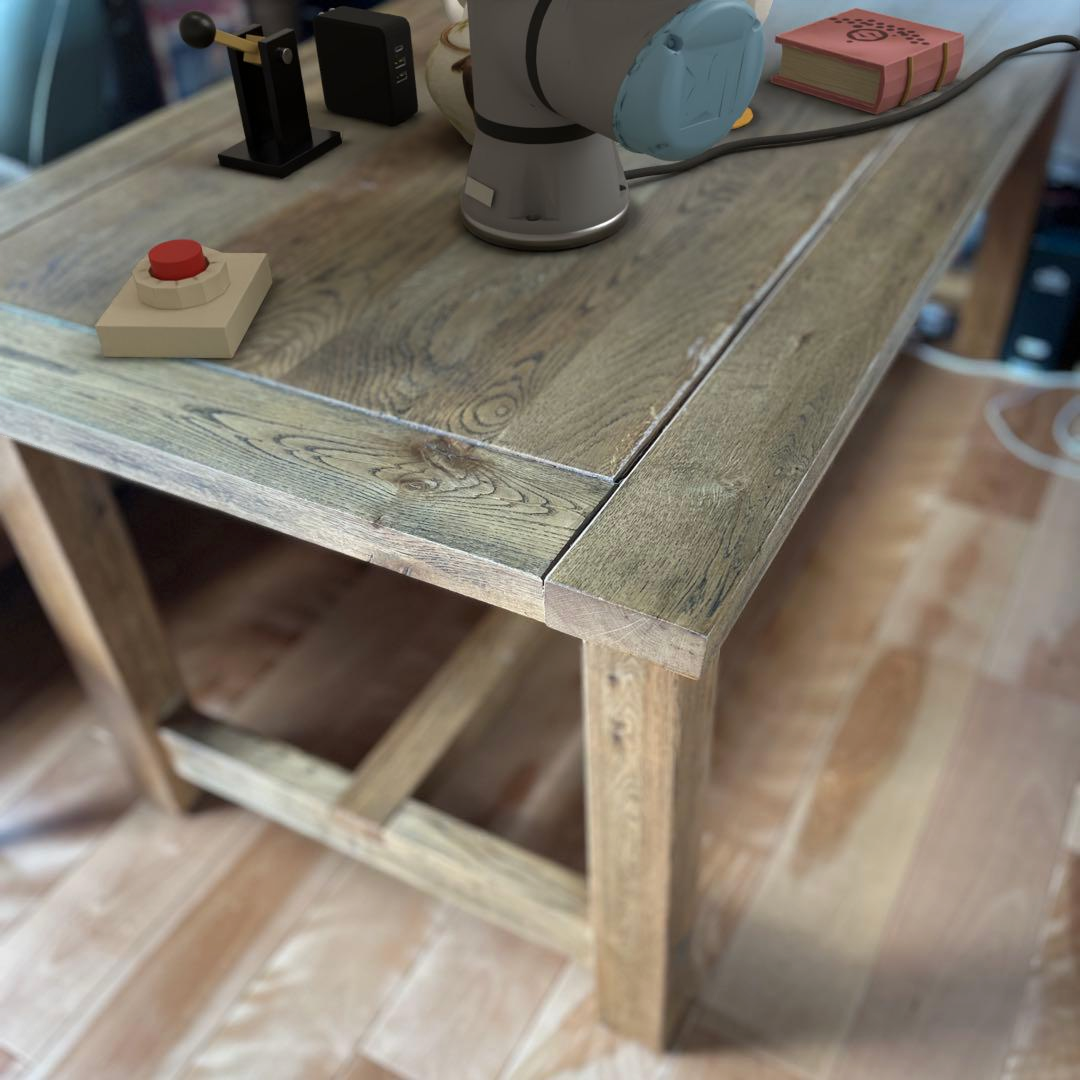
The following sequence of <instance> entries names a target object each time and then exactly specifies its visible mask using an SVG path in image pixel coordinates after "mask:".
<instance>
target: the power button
mask: <svg viewBox="0 0 1080 1080" xmlns="http://www.w3.org/2000/svg"><path fill="white" fill-rule="evenodd" d="M202 247H203V246H202V245H201V244H200V242H198V241H196V240H194V239H188V238H178V239H177V238H176V239H170V240H166V241H163V242H160V243H158V244H156V245H155V246H153V247H152V248H150V249H149V251H148V252H147V254H148V257H149V261H150V264H151V268H152V271H153V275H154V277H155V278H156V279H158V280H161V281H178V280H183V279H187V278H191V277H194V276H196V275H198V274H200V273H202V272H204V271H205V270H206V263H205V259H204V255H203V251H202Z"/></svg>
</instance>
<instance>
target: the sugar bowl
mask: <svg viewBox="0 0 1080 1080" xmlns="http://www.w3.org/2000/svg"><path fill="white" fill-rule="evenodd" d="M424 78H425V84H426V88H427V91H428V94H429V96H430V98H431V99H432V100H433V102H434V104H435V105H436V107H437V108H438V109H439V111H440V112H441V113H442V114H443V115H444V117H445V118H446V119H447V120H448V121H449V122H450V123H451V124H452V125H453V127H454V128H455V129H456V130H457V131H458V132H459V134H460V135H461V136H462V138H463V139H464V140H465V141H466V142H467V143H468V144H469V145H470V146H473V143H474V139H475V135H476V122H475V107H474V93H473V79H472V65H471V51H470V37H469V24H468V18H467V19H465V20H463V21H461V22H458V23H455V24H453V25H451V24H450V25H449V26H448V27H446V28H445V29H444V30H443V31H442V32H441V34H440V37H439V38H438V39H437V40H436V42H435V43H434V44H433V46H432V48H431V49H430V51H429V54H428V56H427V58H426V62H425V67H424Z"/></svg>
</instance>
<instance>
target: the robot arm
mask: <svg viewBox="0 0 1080 1080" xmlns="http://www.w3.org/2000/svg"><path fill="white" fill-rule="evenodd" d="M466 2H467V10H468V24H469V37H470V51H471V65H472V79H473V93H474V107H475V122H476V135H475V139H474V143H473V145H472V148H471V151H470V156H469V160H468V165H467V168H466V175H465V179H464V183H463V185H462V189H461V194H460V212H461V220H462V224H463V225H464V227H465V228H466V229H467V231H469V232H470V233H471V234H473V235H474V236H475V237H477V238H479V239H481V240H483V241H486V242H487V243H491V244H494V245H497V246H500V247H504V248H511V249H517V250H526V251H554V250H555V251H556V250H565V249H571V248H577V247H582V246H585V245H589V244H592V243H596V242H598V241H601V240H604V239H606V238H608V237H609V236H611V235H613V234H614V233H616V232H618V231H619V230H620V229H621V228H622V227H623V226H624V225H625V224H626V223H627V221H628V219H629V216H630V207H631V206H630V203H631V201H630V199H631V197H630V195H631V194H630V189H629V185H628V181H629V180H635V179H641V178H646V177H653V176H661V175H669V174H674V173H678V172H682V171H685V170H688V169H691V168H693V167H696V166H698V165H700V164H702V163H704V162H707V161H709V160H710V159H713V158H714V157H715V158H716V157H717V156H720V155H723V154H726V153H729V152H733V151H738V150H743V149H748V148H752V147H754V148H755V147H761V146H771V145H782V144H783V145H784V144H791V143H800V142H806V141H812V140H819V139H824V138H825V139H826V138H831V137H837V136H842V135H849V134H855V133H860V132H863V131H868V130H872V129H877V128H881V127H884V126H888V125H891V124H894V123H898V122H901V121H905V120H907V119H910V118H912V117H916V116H918V115H921V114H923V113H926V112H928V111H930V110H932V109H935V108H937V107H939V106H941V105H942V104H944V103H946V102H948V101H950V100H951V99H953V98H954V97H956V96H958V95H960V94H961V93H962V92H964V91H966V90H968V89H969V88H970V87H971V86H973V85H974V84H975V83H977V82H978V81H979V80H980V79H981V78H983V77H984V76H985V75H987V74H989V73H990V72H991V71H992V70H994V69H995V68H996V67H997V66H998V65H999V64H1000V63H1001V62H1003V61H1004V60H1006V59H1008V58H1010V57H1013V56H1016V55H1020V54H1023V53H1026V52H1029V51H1032V50H1034V49H1035V50H1036V49H1037V48H1041V47H1044V46H1047V45H1052V44H1068V45H1071V46H1072V47H1074V48H1075V49H1076V50H1077V51H1079V52H1080V39H1079V38H1078V37H1076V36H1074V35H1070V34H1056V35H1050V36H1046V37H1045V36H1044V37H1042V38H1039V39H1036V40H1033V41H1029V42H1027V43H1024V44H1021V45H1018V46H1014V47H1011V48H1008V49H1005V50H1003V51H1001V52H999V53H998V54H996V56H994V57H993V58H991V60H990V61H989V62H988V63H986V64H985V65H983V66H982V67H981V68H979V69H978V70H976V71H975V72H974V73H972V74H971V75H969V76H968V77H967V78H965V80H963V81H962V82H960V83H958V84H957V85H955V86H953V87H951V88H950V89H948V90H947V91H945V92H943V93H942V94H940V95H937V96H936V97H934V98H933V99H930V100H928V101H926V102H924V103H921V104H918V105H916V106H913V107H911V108H908V109H905V110H902V111H899V112H895V113H893V114H889V115H885V116H882V117H878V118H873V119H869V120H865V121H860V122H856V123H852V124H846V125H840V126H835V127H829V128H822V129H815V130H808V131H802V132H794V133H787V134H776V135H765V136H757V137H750V138H743V139H739V140H734V141H730V142H726V143H722V144H719V145H717V144H718V143H720V141H721V142H722V140H723V139H724V138H725V137H726V136H728V134H729V133H730V132H731V131H732V129H731V128H732V127H733V125H734V123H735V122H736V121H737V120H738V119H739V118H741V117H742V115H743V114H744V112H745V110H746V109H747V107H748V108H749V105H750V103H751V101H752V99H753V98H754V95H755V93H756V90H757V88H758V85H759V83H760V80H761V76H762V73H763V68H764V63H765V58H766V57H765V56H766V35H765V34H766V33H765V30H764V26H763V25H764V24H763V25H762V23H761V21H760V20H759V19H757V18H756V13H755V10H754V9H753V8H752V7H751V6H749V4H748V3H747V2H745V1H744V0H466ZM616 143H618V144H619V145H620V146H621V147H622V148H623V149H625V150H627V151H628V152H631V153H634V154H640V155H647V156H649V157H652V158H655V159H658V160H661V161H665V162H673V163H668V164H662V165H661V164H660V165H652V166H645V167H639V168H634V169H628V170H624V168H623V164H622V160H621V158H620V154H619V151H618V149H617V145H616Z"/></svg>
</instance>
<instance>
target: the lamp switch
mask: <svg viewBox="0 0 1080 1080" xmlns="http://www.w3.org/2000/svg"><path fill="white" fill-rule="evenodd" d="M230 34H231V35H234V36H237V37H239V38H242V39H245V40H246V35H253V36H260V37H265V35H264V30H263V25H262V24H260V23H252V24H250V25H247V26H245V27H243V28H241V29H238V30H236V31H234V32H231V33H230ZM297 43H298V42H297V37H296V30H295V29H294V28H284V29H282V30H279V31H278V32H275V33H273V34H270V35H268V36H266V37H265V38H264V39H262V40H260V41H258V47H259V53H260V58H261V63H262V67H260V66H257V65H254V64H251V63H248V62H245V61H243V59H244V52H242V51H239V50H236V49H233V48H230V47H227V46H225V47H226V51H227V56H228V60H229V65H230V71H231V75H232V79H233V81H232V82H233V84H234V91H235V94H236V100H237V105H238V109H239V115H240V119H241V124H242V129H243V134H244V137H245V138H244V139H243V140H241V141H239V142H237V143H235V144H233V145H231V146H230V147H227V148H226V149H224V150H221V151H220V152H218V153H217V159H218V163H219V166H221V167H224V168H225V167H226V168H230V169H234V170H239V171H244V172H249V173H252V174H253V173H254V174H258V175H263V176H269V177H273V178H278V179H285V178H286V177H288V176H290V175H291V174H293V173H295V172H296V171H298V170H299V169H301V168H302V167H304V166H307V165H308V164H310V163H311V162H312V161H314V160H316V159H318V158H320V157H321V156H323V155H325V154H326V153H329V151H331V150H334V149H335V148H337V147H338V146H340V145H341V144H343V140H342V133H341V131H339V130H333V129H327V128H322V127H316V126H311V122H310V116H309V109H308V104H307V97H306V91H305V85H304V79H303V73H302V66H301V62H300V55H299V50H298V49H299V48H298V44H297Z"/></svg>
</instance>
